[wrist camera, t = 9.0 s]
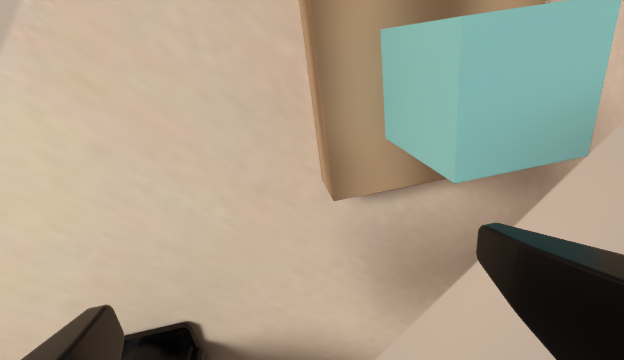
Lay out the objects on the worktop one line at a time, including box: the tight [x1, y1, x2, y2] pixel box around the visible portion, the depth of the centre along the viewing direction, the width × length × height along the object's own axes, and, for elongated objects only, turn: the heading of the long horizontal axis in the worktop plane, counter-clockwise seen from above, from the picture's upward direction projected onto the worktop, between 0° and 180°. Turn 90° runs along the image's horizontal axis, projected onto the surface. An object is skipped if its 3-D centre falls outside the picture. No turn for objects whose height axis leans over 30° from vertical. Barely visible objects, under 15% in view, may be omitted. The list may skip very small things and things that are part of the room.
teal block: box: [380, 0, 621, 183], centre depth 13 cm, size 5×5×6 cm
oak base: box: [299, 0, 545, 201], centre depth 17 cm, size 11×11×3 cm
